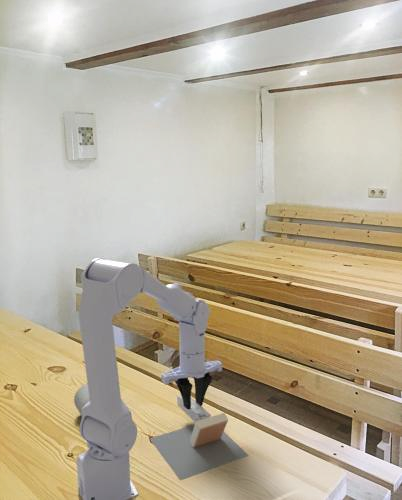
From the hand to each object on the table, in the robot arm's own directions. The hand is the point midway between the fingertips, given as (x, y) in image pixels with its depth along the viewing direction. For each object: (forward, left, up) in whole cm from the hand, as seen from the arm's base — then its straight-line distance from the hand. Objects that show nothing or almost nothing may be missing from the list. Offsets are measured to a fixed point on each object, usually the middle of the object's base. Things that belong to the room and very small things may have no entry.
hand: (193, 405), depth 105 cm
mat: (-2, -7, -6) cm, 9 cm away
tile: (0, -6, -5) cm, 8 cm away
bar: (0, 0, -2) cm, 2 cm away
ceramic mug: (-17, +17, -6) cm, 26 cm away
